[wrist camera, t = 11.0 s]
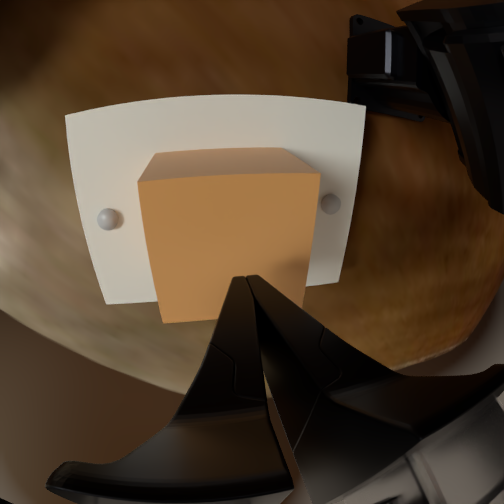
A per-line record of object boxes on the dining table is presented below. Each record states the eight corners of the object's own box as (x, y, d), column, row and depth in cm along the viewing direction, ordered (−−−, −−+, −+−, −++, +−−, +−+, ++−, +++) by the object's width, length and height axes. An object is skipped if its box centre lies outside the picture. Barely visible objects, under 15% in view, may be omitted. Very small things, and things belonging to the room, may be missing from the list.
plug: (271, 141, 16) (320, 173, 10) (266, 238, 19) (301, 308, 13) (159, 146, 15) (137, 181, 9) (169, 245, 18) (163, 323, 12)
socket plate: (348, 103, 15) (368, 106, 13) (327, 266, 21) (339, 284, 19) (79, 112, 12) (62, 116, 10) (111, 286, 19) (105, 307, 17)
